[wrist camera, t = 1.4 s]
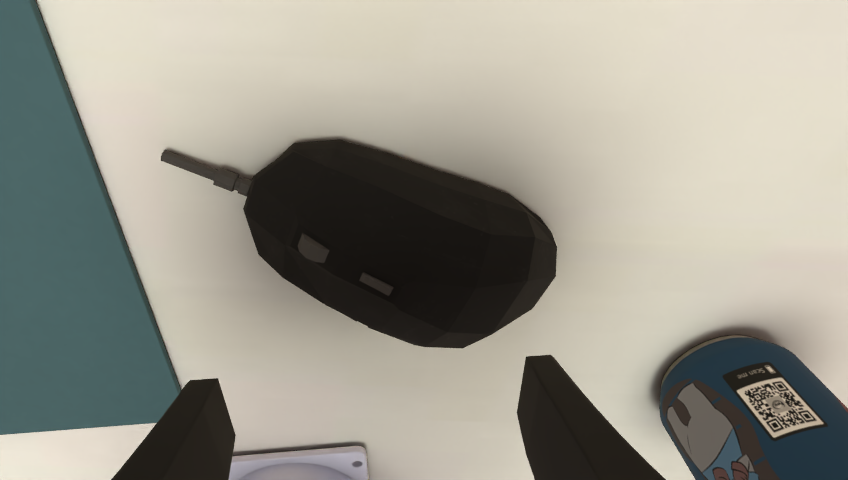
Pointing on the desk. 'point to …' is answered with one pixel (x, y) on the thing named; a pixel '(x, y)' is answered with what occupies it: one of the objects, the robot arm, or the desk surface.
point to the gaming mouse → (394, 240)
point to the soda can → (753, 414)
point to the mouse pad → (64, 261)
